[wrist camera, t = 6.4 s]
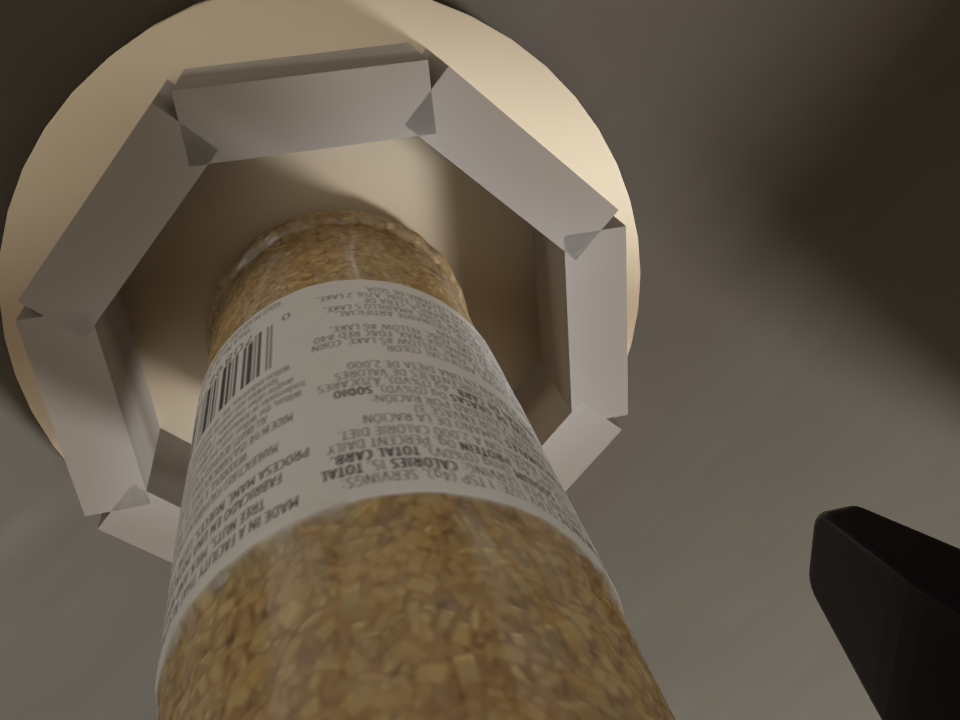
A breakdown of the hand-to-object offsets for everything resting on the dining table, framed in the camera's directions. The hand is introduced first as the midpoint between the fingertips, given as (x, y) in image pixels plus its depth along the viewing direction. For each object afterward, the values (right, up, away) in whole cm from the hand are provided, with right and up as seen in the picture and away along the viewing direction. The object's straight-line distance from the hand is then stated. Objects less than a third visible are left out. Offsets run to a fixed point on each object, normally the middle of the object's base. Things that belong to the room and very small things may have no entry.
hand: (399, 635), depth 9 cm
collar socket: (-2, +4, +8) cm, 9 cm away
